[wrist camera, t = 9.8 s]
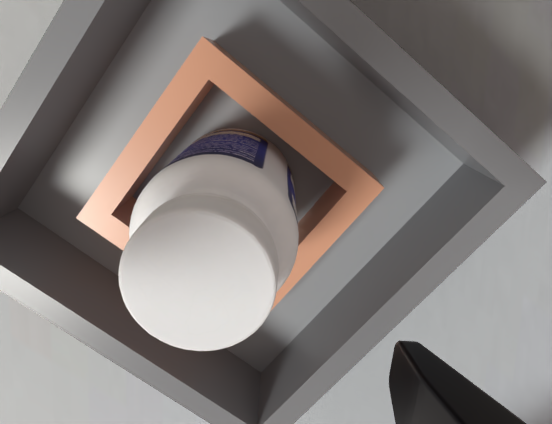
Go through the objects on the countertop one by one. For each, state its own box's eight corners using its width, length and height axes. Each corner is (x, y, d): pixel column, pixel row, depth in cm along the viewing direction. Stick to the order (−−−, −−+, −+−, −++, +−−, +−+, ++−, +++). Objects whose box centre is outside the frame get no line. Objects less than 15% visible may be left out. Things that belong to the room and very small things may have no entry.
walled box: (488, 156, 19) (546, 182, 15) (265, 384, 23) (260, 455, 19) (195, -110, 16) (163, -172, 12) (-2, 205, 20) (-77, 242, 16)
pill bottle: (150, 187, 19) (45, 281, 11) (231, 100, 18) (183, 131, 9) (238, 265, 20) (204, 406, 12) (320, 188, 19) (347, 285, 11)
